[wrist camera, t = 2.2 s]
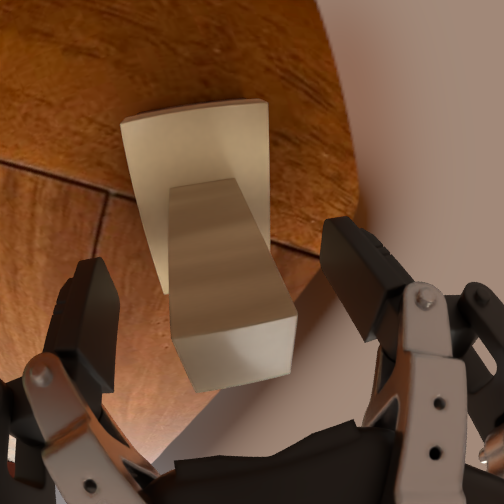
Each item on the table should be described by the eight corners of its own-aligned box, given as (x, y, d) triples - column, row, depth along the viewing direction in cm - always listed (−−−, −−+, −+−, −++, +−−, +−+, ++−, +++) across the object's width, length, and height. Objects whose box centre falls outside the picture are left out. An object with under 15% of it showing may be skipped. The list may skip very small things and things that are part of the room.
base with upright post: (132, 110, 11) (39, 227, 3) (249, 93, 12) (388, 171, 4) (164, 256, 16) (173, 431, 9) (255, 240, 17) (322, 400, 9)
